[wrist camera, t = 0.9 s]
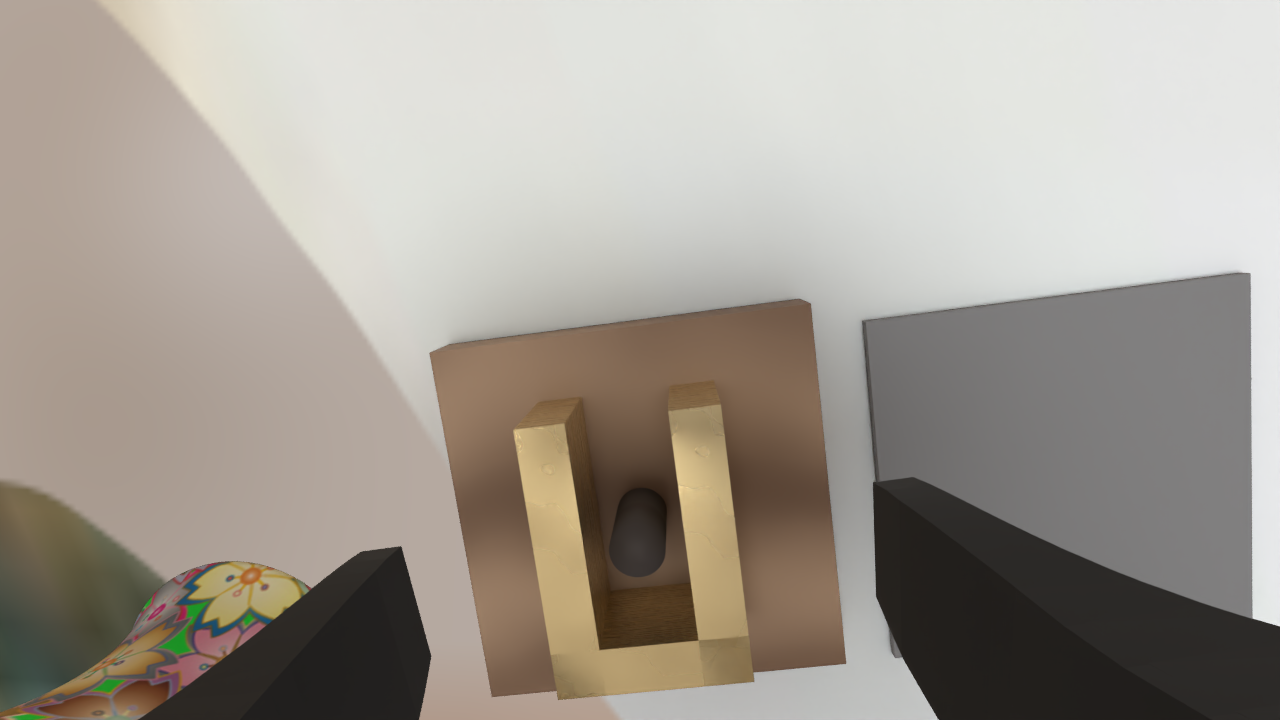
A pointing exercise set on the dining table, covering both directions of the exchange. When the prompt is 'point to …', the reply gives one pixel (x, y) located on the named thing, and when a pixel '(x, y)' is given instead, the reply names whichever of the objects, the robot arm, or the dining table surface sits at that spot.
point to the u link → (639, 617)
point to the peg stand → (650, 472)
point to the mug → (172, 642)
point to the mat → (1086, 424)
